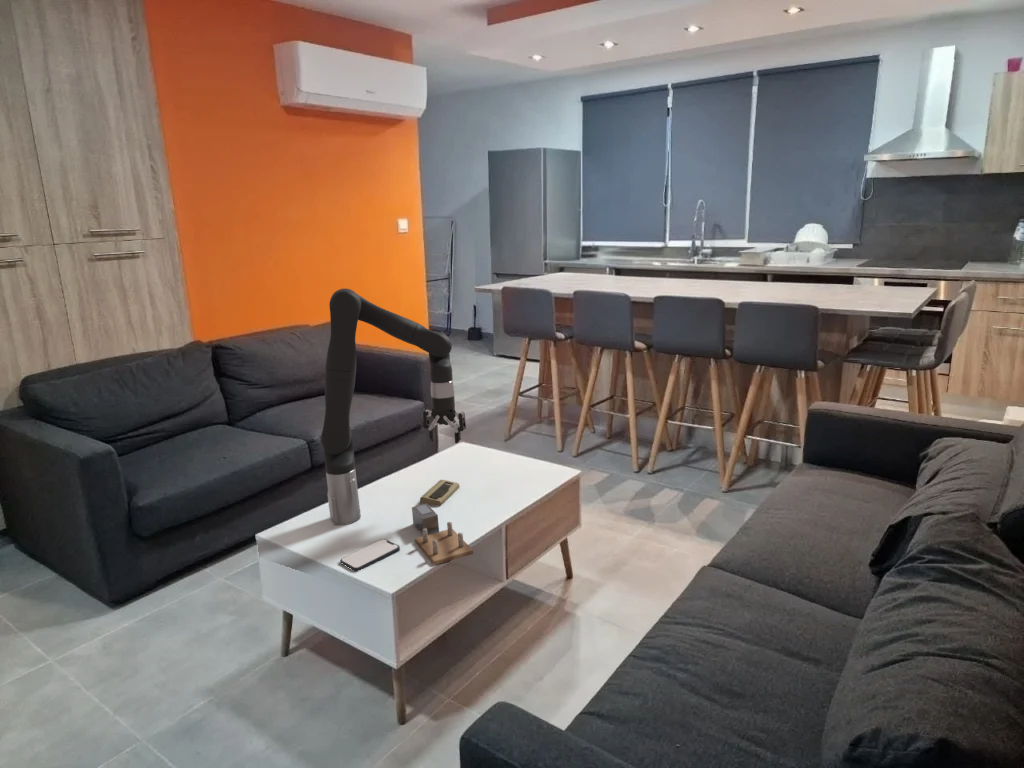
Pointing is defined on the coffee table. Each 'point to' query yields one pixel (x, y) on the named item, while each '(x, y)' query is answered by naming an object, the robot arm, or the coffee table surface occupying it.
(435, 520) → the block
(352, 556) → the smartphone
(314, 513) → the coffee table surface
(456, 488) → the computer
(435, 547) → the tray
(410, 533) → the coffee table surface
